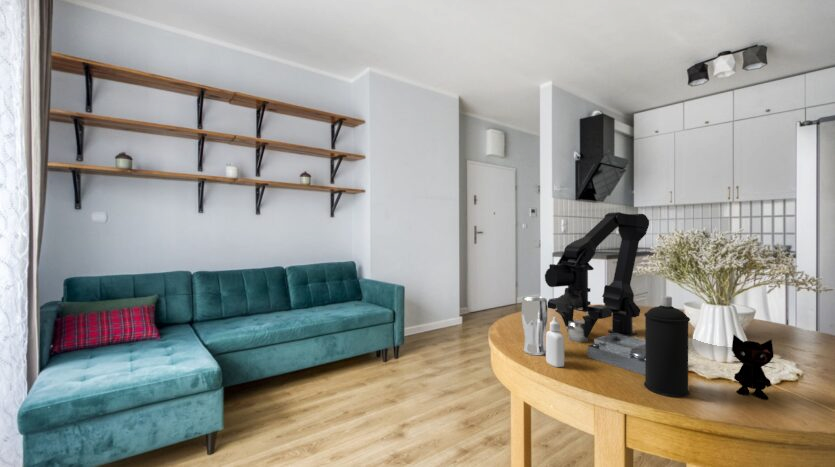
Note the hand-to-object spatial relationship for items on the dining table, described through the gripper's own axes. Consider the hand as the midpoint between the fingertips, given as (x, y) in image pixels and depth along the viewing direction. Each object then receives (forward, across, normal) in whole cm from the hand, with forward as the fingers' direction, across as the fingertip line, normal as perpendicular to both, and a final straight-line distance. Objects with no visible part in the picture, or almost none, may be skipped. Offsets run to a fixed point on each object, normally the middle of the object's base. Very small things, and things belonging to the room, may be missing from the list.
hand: (577, 335), depth 117 cm
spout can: (+1, 0, -1) cm, 2 cm away
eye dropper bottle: (+2, +9, -23) cm, 25 cm away
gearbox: (+1, +19, -5) cm, 20 cm away
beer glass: (+2, 0, -20) cm, 20 cm away
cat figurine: (+2, +43, -4) cm, 43 cm away
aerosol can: (+2, +32, -16) cm, 36 cm away
